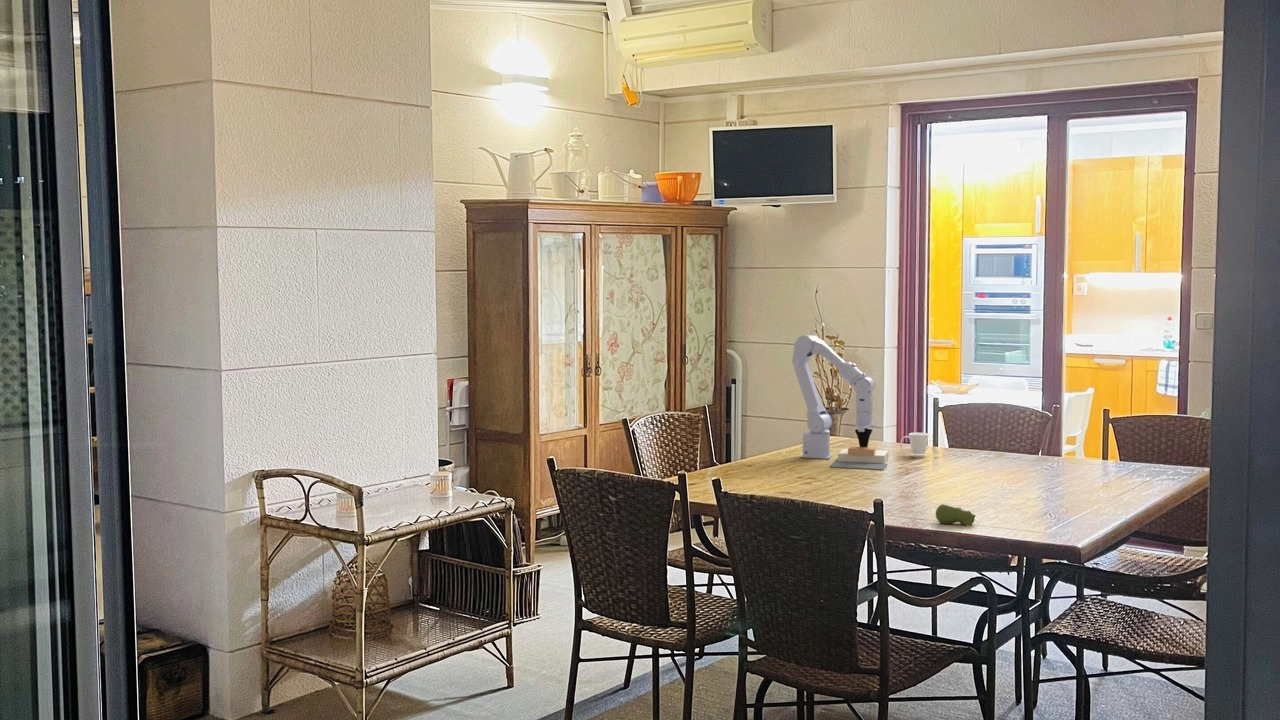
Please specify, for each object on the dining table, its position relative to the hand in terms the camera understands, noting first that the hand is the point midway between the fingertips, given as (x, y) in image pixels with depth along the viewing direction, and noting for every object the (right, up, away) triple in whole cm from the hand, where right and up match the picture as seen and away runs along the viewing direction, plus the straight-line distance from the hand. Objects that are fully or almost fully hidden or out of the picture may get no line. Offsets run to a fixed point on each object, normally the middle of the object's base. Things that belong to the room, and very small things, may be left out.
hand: (863, 449), depth 410 cm
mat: (-4, -5, -12) cm, 13 cm away
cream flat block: (0, -4, 0) cm, 4 cm away
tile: (-1, -1, -4) cm, 4 cm away
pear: (+4, -12, -105) cm, 106 cm away
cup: (+20, -3, +11) cm, 23 cm away
